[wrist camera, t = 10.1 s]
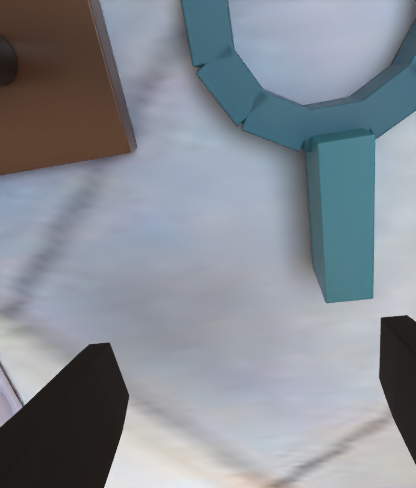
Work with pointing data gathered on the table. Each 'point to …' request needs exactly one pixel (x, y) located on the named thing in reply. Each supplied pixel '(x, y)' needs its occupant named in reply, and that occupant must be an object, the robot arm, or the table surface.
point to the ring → (314, 142)
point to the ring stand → (58, 86)
